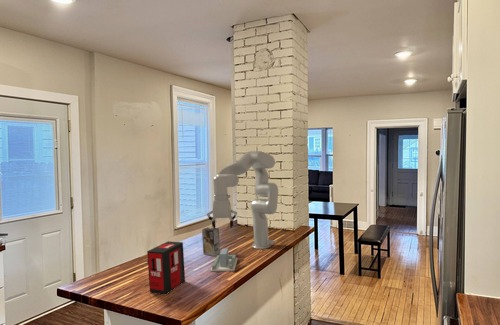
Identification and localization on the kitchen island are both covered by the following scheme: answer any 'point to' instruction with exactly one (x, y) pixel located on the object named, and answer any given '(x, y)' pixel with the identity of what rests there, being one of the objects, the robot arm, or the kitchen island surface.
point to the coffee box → (211, 241)
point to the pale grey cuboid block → (224, 257)
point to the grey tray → (230, 265)
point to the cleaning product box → (166, 267)
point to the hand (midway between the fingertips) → (222, 227)
